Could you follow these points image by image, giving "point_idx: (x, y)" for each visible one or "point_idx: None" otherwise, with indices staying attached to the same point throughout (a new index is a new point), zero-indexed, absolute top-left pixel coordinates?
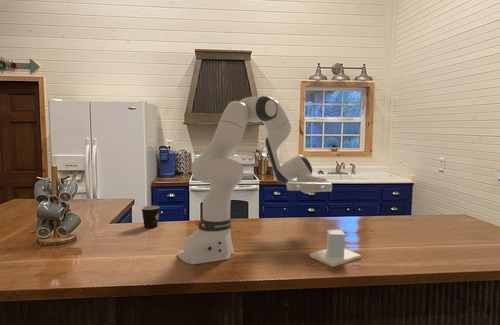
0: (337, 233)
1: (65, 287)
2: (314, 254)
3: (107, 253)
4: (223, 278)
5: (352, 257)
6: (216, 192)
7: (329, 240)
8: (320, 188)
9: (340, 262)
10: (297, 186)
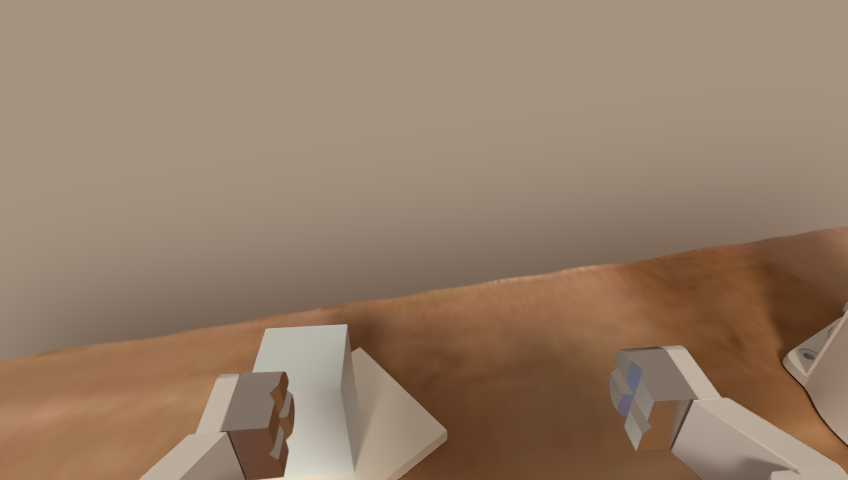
0: (299, 337)
1: None
2: (423, 422)
3: None
4: (684, 260)
5: None
6: None
7: (350, 349)
8: (283, 379)
9: None
10: (734, 412)
